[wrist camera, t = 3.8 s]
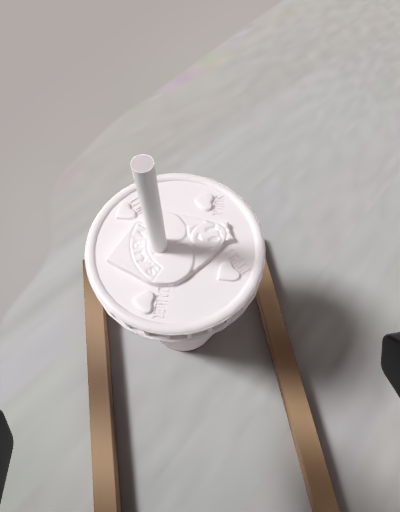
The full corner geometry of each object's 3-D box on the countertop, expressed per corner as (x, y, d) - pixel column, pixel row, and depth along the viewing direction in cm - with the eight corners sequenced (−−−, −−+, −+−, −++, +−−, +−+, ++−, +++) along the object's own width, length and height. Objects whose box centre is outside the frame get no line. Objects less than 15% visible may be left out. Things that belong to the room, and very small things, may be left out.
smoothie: (121, 283, 22) (19, 90, 9) (221, 259, 23) (251, 51, 10) (141, 389, 19) (35, 322, 7) (252, 358, 20) (349, 244, 7)
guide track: (360, 605, 15) (388, 636, 13) (108, 671, 14) (91, 717, 12) (255, 239, 23) (262, 219, 21) (87, 266, 22) (75, 248, 20)
